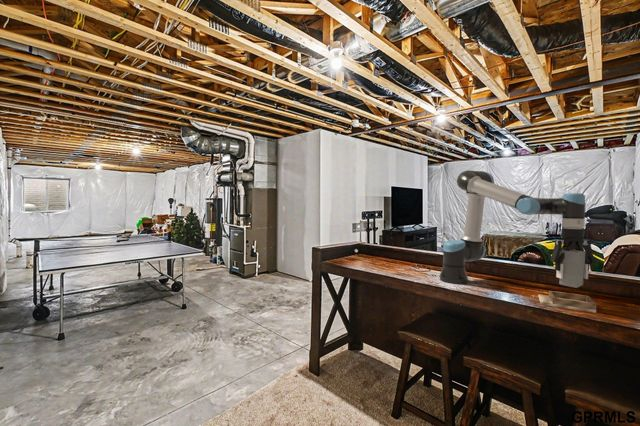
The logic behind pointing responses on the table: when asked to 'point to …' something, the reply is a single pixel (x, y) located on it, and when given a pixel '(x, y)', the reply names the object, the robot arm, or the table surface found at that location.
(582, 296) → the socket board
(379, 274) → the table surface
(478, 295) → the table surface
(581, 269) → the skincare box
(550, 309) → the table surface
